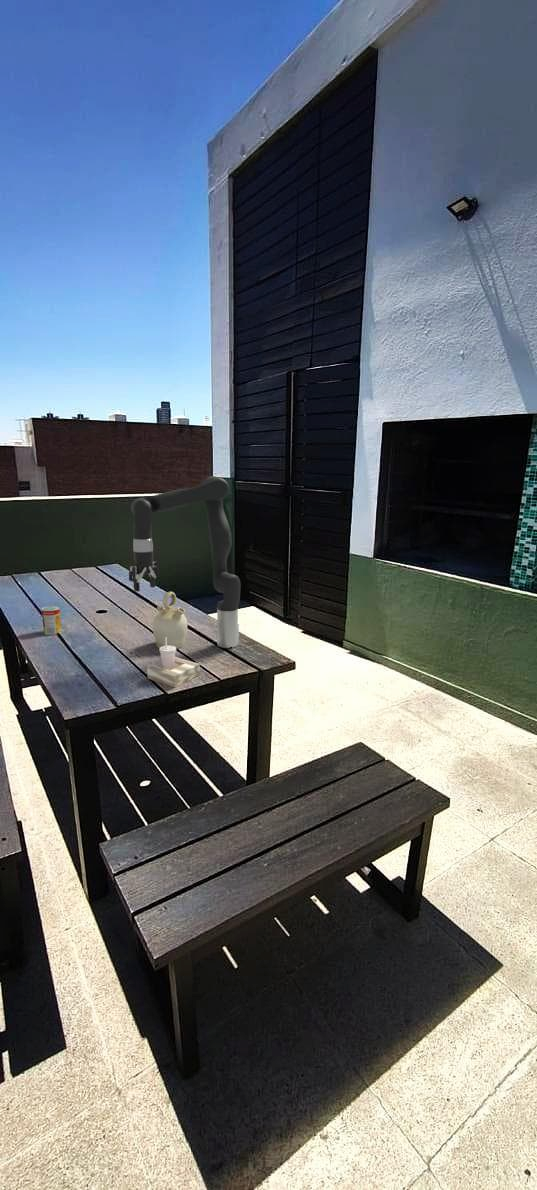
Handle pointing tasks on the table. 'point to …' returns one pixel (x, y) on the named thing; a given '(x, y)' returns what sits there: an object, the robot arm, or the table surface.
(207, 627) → the table surface
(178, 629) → the jug
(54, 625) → the canned food
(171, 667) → the white cup with straw
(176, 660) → the notched board
